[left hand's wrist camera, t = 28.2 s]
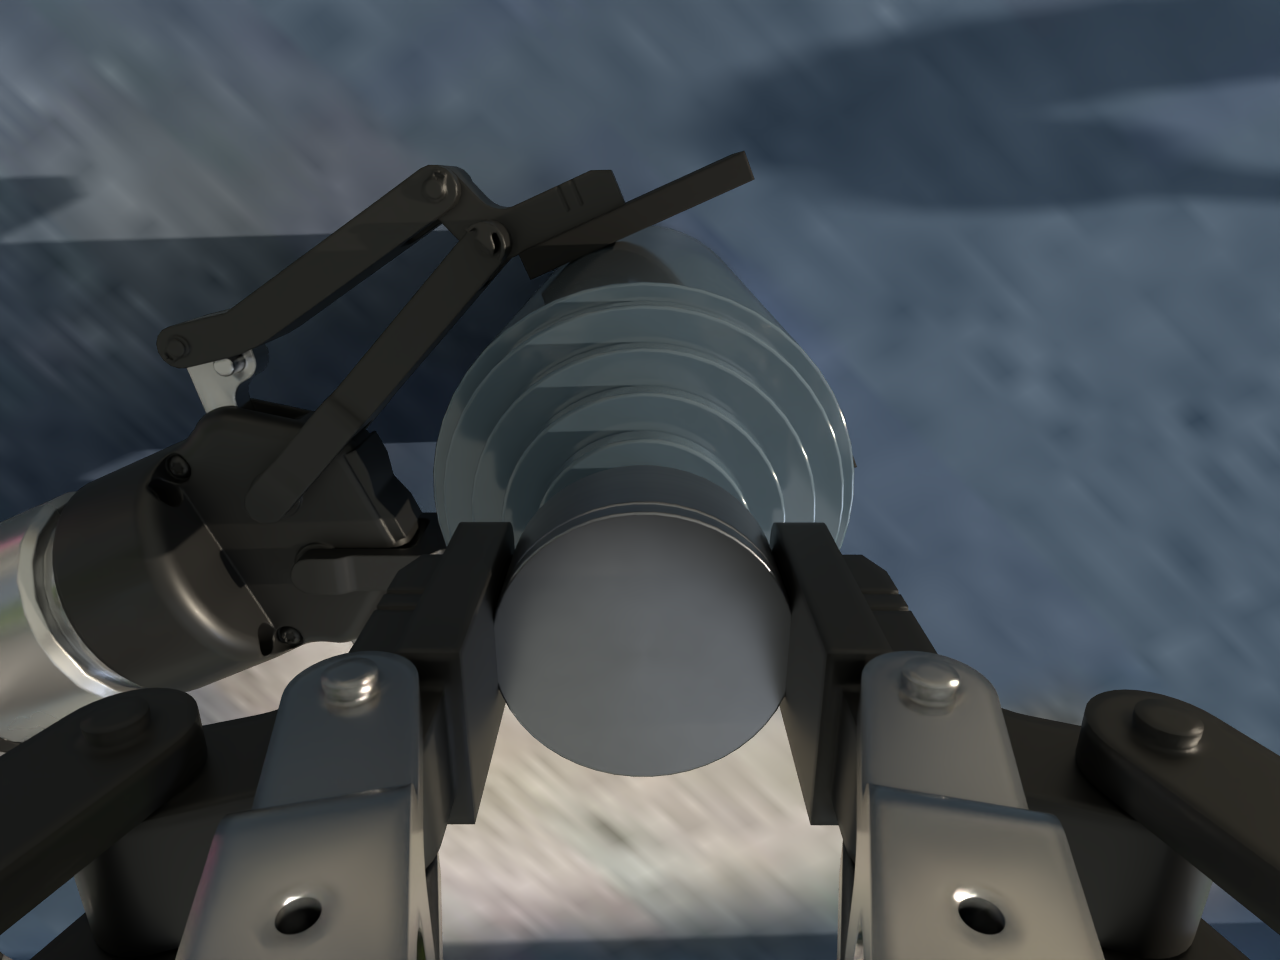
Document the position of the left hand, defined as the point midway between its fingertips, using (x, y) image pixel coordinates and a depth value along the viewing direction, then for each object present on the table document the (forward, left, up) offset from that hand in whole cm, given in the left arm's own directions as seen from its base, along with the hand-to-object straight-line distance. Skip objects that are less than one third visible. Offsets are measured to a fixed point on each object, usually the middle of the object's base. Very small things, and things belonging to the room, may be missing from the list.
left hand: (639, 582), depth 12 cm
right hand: (+3, -4, -13) cm, 14 cm away
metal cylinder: (0, 0, +1) cm, 1 cm away
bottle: (0, 0, -20) cm, 20 cm away
